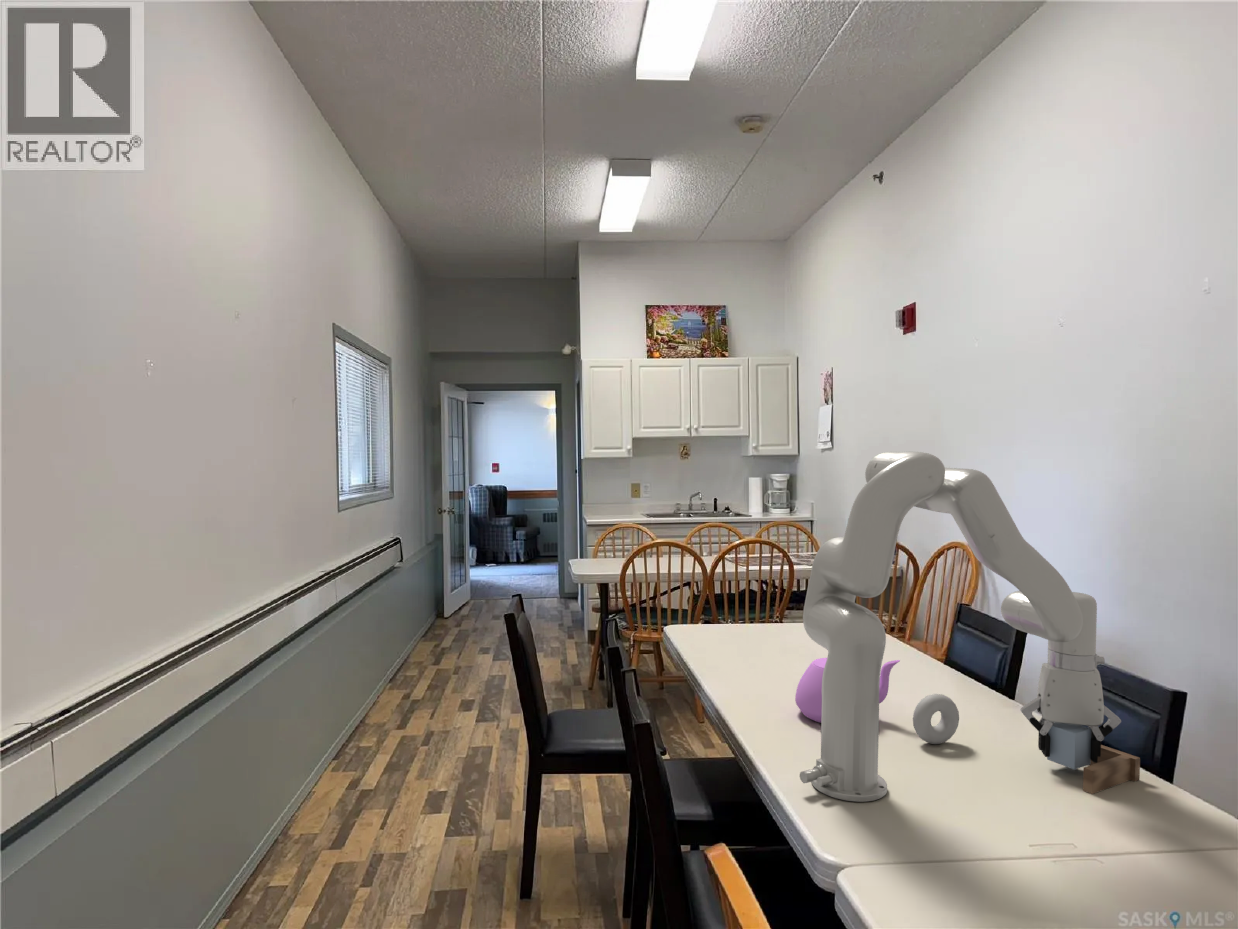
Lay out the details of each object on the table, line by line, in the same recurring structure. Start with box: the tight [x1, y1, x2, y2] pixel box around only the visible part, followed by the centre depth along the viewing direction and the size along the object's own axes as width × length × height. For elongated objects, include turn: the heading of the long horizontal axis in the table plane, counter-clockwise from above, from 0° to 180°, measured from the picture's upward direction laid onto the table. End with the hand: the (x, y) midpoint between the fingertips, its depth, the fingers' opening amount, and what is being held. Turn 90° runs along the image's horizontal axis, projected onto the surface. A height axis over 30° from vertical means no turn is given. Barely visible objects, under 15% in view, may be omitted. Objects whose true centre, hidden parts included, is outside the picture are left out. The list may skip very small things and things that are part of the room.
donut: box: [912, 693, 960, 745], centre depth 151 cm, size 10×3×10 cm, turn 105°
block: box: [1046, 723, 1091, 770], centre depth 139 cm, size 5×5×6 cm
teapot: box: [794, 657, 901, 723], centre depth 165 cm, size 22×22×14 cm
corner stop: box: [1082, 744, 1141, 795], centre depth 139 cm, size 14×15×4 cm
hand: (1068, 756), depth 139 cm, fingers closed on block, 7 cm apart
